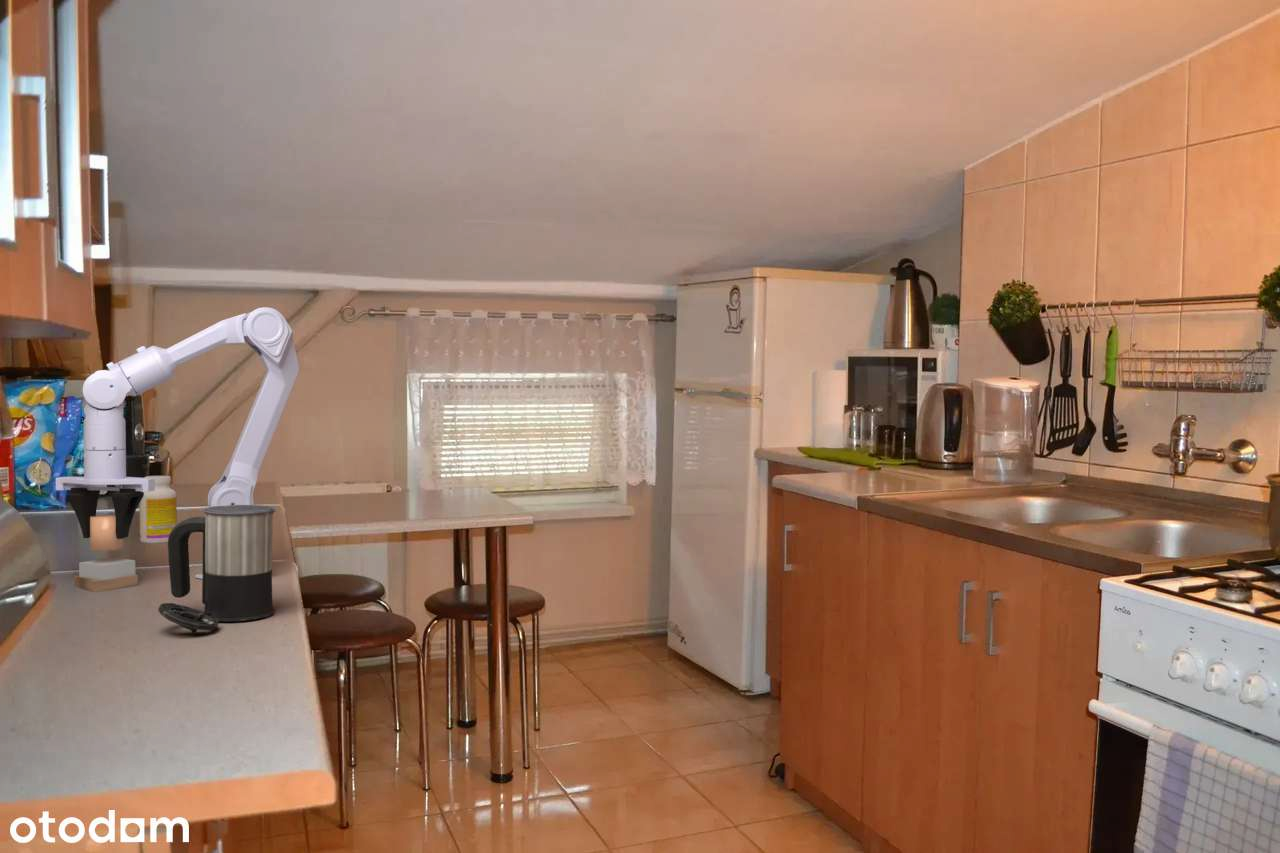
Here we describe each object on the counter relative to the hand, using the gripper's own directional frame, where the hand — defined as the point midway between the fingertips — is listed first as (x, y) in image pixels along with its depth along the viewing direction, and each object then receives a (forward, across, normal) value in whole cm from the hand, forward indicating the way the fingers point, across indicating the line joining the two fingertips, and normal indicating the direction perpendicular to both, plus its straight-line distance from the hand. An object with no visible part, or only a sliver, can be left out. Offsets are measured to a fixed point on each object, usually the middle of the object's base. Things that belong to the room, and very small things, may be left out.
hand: (105, 537), depth 158 cm
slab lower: (+8, 0, 0) cm, 8 cm away
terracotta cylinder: (+2, 0, 0) cm, 2 cm away
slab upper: (+6, 0, 0) cm, 6 cm away
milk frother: (+8, -27, +21) cm, 35 cm away
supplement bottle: (+8, +14, -43) cm, 46 cm away
